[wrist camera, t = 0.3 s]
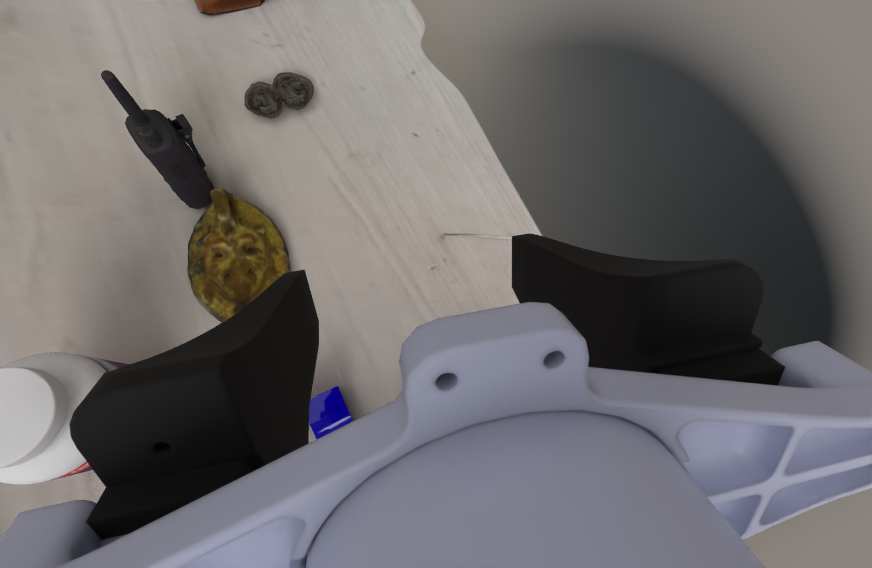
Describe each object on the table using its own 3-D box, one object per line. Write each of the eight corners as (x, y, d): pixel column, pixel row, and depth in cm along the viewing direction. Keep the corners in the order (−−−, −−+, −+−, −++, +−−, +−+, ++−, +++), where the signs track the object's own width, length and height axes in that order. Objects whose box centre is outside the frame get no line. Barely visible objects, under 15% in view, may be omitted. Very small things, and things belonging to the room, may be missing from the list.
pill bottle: (148, 474, 35) (21, 520, 22) (55, 443, 34) (-138, 470, 21) (197, 383, 38) (110, 373, 24) (111, 353, 37) (-28, 324, 24)
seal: (306, 321, 42) (269, 193, 45) (307, 311, 38) (266, 170, 41) (206, 349, 39) (173, 208, 41) (195, 341, 34) (159, 184, 37)
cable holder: (304, 403, 39) (299, 403, 35) (339, 387, 40) (337, 385, 36) (336, 484, 38) (335, 493, 34) (371, 465, 39) (373, 472, 35)
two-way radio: (166, 175, 42) (72, 62, 28) (207, 157, 44) (137, 40, 30) (193, 217, 42) (111, 122, 28) (234, 197, 43) (176, 97, 29)
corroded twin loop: (237, 95, 46) (234, 88, 45) (301, 72, 49) (300, 65, 48) (258, 129, 46) (256, 123, 45) (322, 104, 48) (322, 98, 47)
